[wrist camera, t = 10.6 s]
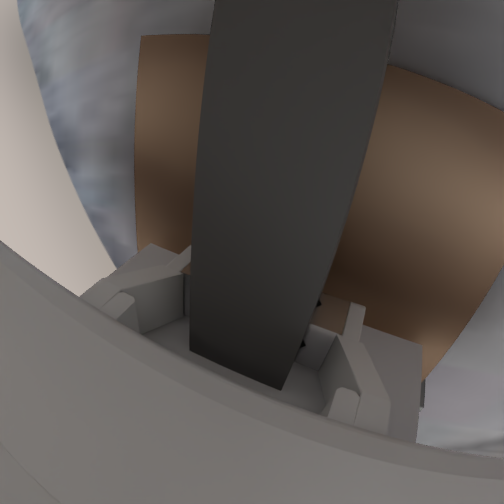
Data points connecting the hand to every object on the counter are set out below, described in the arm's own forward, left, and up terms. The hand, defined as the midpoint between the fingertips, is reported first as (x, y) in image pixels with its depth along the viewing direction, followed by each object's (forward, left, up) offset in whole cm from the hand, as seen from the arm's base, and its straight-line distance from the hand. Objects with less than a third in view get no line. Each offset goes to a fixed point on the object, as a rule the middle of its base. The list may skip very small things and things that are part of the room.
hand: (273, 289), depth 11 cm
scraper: (-4, 0, -1) cm, 5 cm away
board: (-2, 0, -5) cm, 5 cm away
